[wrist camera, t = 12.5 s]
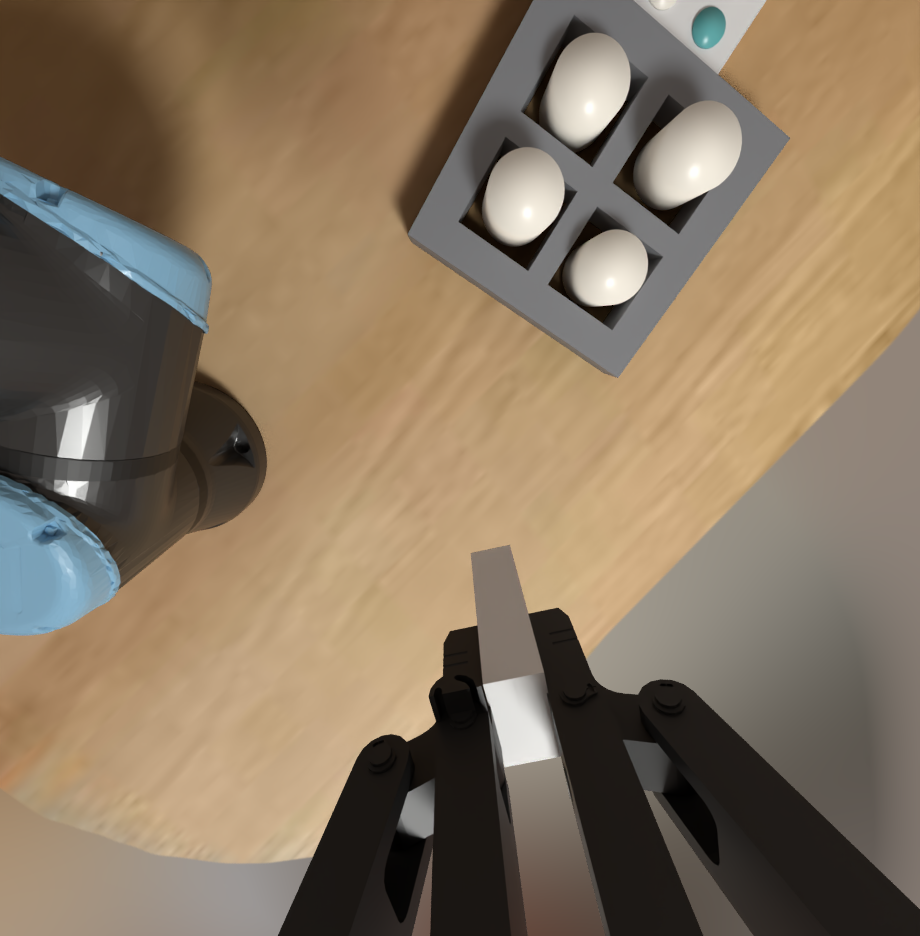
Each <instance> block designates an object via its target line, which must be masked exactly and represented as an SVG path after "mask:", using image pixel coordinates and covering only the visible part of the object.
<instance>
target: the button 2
mask: <svg viewBox="0 0 920 936" xmlns="http://www.w3.org/2000/svg"><path fill="white" fill-rule="evenodd" d="M630 78H631V76H630V65H629V61H628V58H627V56H626V53H625V52H624V50H623V48H622V47H621V46H620V44H619V43H618V42H617V41H616V40H614V39H613V38H612V37H610V36H608V35H605V34H602V33H588V34H584V35H581V36H579V37H578V38H576V39H574V40H573V41H572V42H571V43H570V44H568V45H567V47H566V48H565V49H564V50H563V52H562V53H561V55H560V57H559V59H558V61H557V63H556V66H555V68H554V71H553V73H552V75H551V78H550V80H549V83H548V85H547V88H546V90H545V92H544V95H543V97H542V100H541V103H540V108H539V124H540V127H542V128H543V129H544V130H545V131H547V132H548V133H549V134H551V135H552V136H553V137H554V138H556V139H557V140H558V141H560V142H561V143H562V144H563V145H565V146H566V147H567V148H568V149H570V150H571V151H572V152H574V153H575V152H579V151H582V150H584V149H586V148H587V147H588V146H590V145H591V144H592V143H593V142H594V141H595V140H596V139H597V137H598V136H599V135H600V134H601V132H602V131H603V130H604V129H605V127H606V126H607V125H608V124H609V122H610V121H611V120H612V119H613V117H614V116H615V115H616V114H617V112H618V111H619V110H620V108H621V107H622V105H623V104H624V102H625V100H626V97H627V94H628V91H629V87H630Z"/></svg>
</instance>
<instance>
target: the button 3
mask: <svg viewBox="0 0 920 936" xmlns="http://www.w3.org/2000/svg"><path fill="white" fill-rule="evenodd" d="M647 270H648V257H647V253H646V250H645V247H644V245H643V244H642V242H641V241H640V240H639V239H638V238H637V237H636V236H635V235H633V234H632V233H630V232H628V231H625V230H619V229H616V230H608V231H605V232H603V233H601V234H599V235H597V236H596V237H594V238H592V239H590V240H589V241H587V242H585V243H583V244H582V245H580V246H579V247H577V248H576V249H575V250H574V251H573V252H572V253H571V254H570V255H569V257H568V258H567V260H566V262H565V265H564V268H563V277H562V278H563V285H564V288H565V291H566V293H567V294H568V296H569V297H570V298H571V299H572V300H573V301H574V302H575V303H577V304H579V305H581V306H585V307H597V306H607V305H615V304H619V303H622V302H625V301H627V300H628V299H630V298H631V297H632V296H634V295H635V294H636V293H637V292H638V290H639V289H640V288H641V286H642V284H643V282H644V280H645V278H646V275H647Z"/></svg>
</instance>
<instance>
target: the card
mask: <svg viewBox="0 0 920 936" xmlns="http://www.w3.org/2000/svg"><path fill="white" fill-rule="evenodd" d="M634 1H635V2H636V3H637V4H638V5H639V6H641V7H642V8H643V9H644V10H645V11H646V12H647V13H648V14H650V15H651V16H652V17H653V18H654V19H655V20H656V21H658V22H659V23H660V24H661V25H662V26H663V27H664V28H666V29H667V30H668V31H669V32H670V33H671V34H672V35H673V36H675V37H676V38H677V39H678V40H679V41H680V42H681V43H683V44H684V45H685V46H686V47H687V48H688V49H689V50H691V51H692V52H693V53H694V54H695V55H696V56H697V57H699V58H700V59H701V60H702V61H703V62H704V63H705V64H706V65H708V66H709V67H710V68H711V69H712V70H713V71H714V72H716V73H717V74H718V73H719V72H720V70H721V69H722V67H723V66H724V64H725V63H726V61H727V60H728V58H729V57H730V55H731V54H732V52H733V50H734V49H735V47H736V46H737V44H738V43H739V41H740V40H741V38H742V37H743V35H744V34H745V32H746V31H747V29H748V28H749V26H750V25H751V23H752V22H753V20H754V18H755V17H756V15H757V14H758V12H759V11H760V9H761V8H762V6H763V5H764V3H765V2H766V0H634Z"/></svg>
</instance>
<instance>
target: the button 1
mask: <svg viewBox="0 0 920 936" xmlns="http://www.w3.org/2000/svg"><path fill="white" fill-rule="evenodd" d="M564 190H565V188H564V180H563V176H562V173H561V170H560V168H559V166H558V165H557V163H556V162H555V160H554V159H553V158H552V157H551V156H550V155H549V154H547V153H546V152H544V151H542V150H540V149H537V148H532V147H522V148H518V149H515V150H512V151H510V152H509V153H507V154H506V155H504V156H503V157H502V158H501V159H500V160H499V161H498V163H497V164H496V165H495V167H494V168H493V170H492V172H491V175H490V178H489V181H488V185H487V188H486V192H485V195H484V199H483V204H482V217H483V221H484V224H485V227H486V229H487V231H488V232H489V234H490V235H491V236H492V237H493V238H494V239H495V240H496V241H497V242H499V243H501V244H503V245H506V246H510V247H518V246H523V245H526V244H528V243H530V242H532V241H533V240H534V239H535V238H537V237H538V236H539V235H540V234H541V233H542V232H543V231H544V230H545V229H546V228H547V227H548V226H549V225H550V224H551V223H552V222H553V221H554V220H555V218H556V217H557V215H558V213H559V211H560V209H561V207H562V204H563V200H564Z"/></svg>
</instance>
